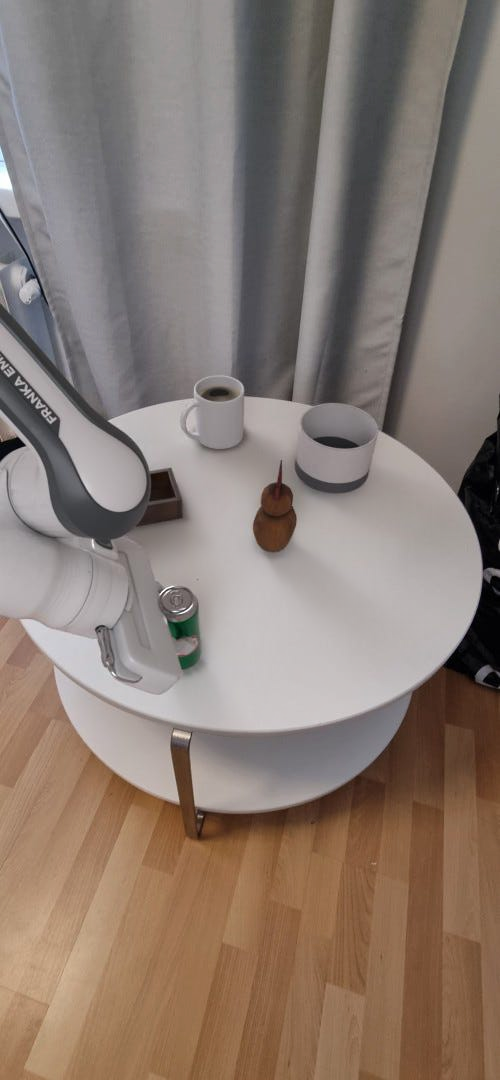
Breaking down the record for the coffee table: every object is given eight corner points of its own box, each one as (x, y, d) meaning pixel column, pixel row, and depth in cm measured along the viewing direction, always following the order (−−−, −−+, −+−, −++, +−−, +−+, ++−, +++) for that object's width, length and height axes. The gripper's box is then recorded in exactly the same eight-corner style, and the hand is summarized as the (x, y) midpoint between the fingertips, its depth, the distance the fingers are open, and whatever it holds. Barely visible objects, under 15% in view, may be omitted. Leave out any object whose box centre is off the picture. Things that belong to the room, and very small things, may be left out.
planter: (381, 487, 101) (394, 438, 94) (317, 507, 97) (325, 458, 89) (342, 444, 109) (351, 396, 101) (281, 462, 105) (285, 413, 97)
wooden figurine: (267, 522, 94) (273, 448, 83) (299, 537, 92) (309, 462, 81) (245, 549, 90) (248, 474, 79) (278, 564, 88) (286, 490, 77)
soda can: (163, 675, 75) (156, 620, 66) (160, 641, 78) (152, 585, 69) (203, 669, 76) (200, 614, 67) (198, 636, 79) (195, 580, 70)
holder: (85, 536, 91) (81, 517, 88) (80, 501, 96) (76, 482, 93) (183, 518, 94) (181, 499, 91) (172, 485, 100) (171, 467, 97)
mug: (245, 423, 113) (247, 377, 105) (239, 453, 106) (241, 407, 99) (189, 418, 113) (187, 371, 106) (180, 448, 107) (177, 401, 99)
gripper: (126, 658, 55) (225, 682, 65) (93, 513, 68) (180, 551, 78) (86, 695, 57) (188, 713, 67) (62, 547, 70) (150, 580, 80)
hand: (183, 625), depth 72 cm, fingers closed on soda can, 5 cm apart
